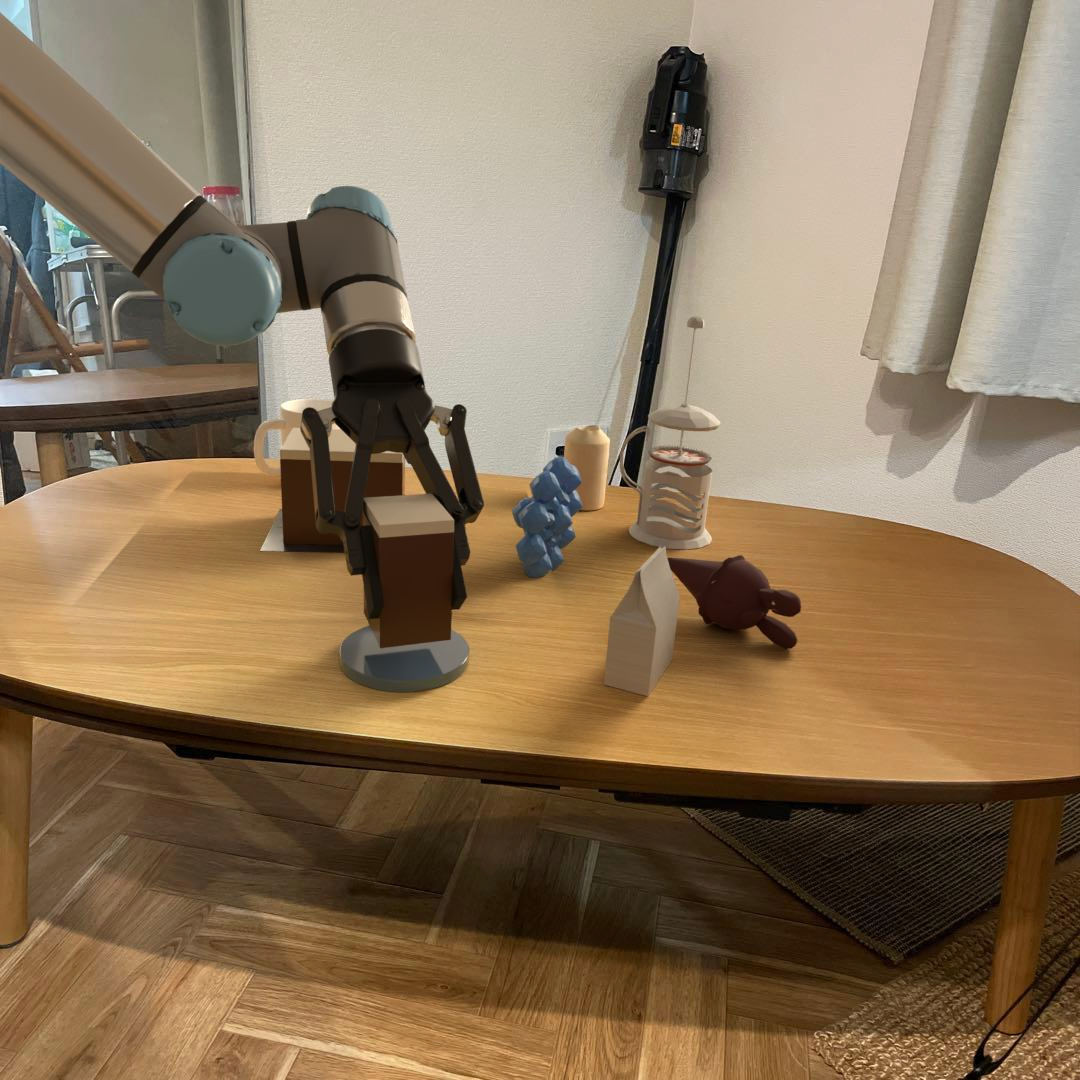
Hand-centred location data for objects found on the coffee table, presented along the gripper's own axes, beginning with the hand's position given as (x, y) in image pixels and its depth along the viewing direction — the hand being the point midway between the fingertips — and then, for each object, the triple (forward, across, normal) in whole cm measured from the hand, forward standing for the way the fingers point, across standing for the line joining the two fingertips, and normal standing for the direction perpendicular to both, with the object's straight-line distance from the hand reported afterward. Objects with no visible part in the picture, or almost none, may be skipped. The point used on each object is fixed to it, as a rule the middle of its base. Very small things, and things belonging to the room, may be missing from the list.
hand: (418, 607), depth 68 cm
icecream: (+3, -30, -7) cm, 31 cm away
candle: (-22, -31, -31) cm, 49 cm away
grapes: (-9, -17, -18) cm, 26 cm away
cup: (-31, +2, -40) cm, 51 cm away
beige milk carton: (+7, -18, -2) cm, 19 cm away
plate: (+2, 0, -7) cm, 7 cm away
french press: (-14, -36, -23) cm, 45 cm away
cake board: (-18, 0, -27) cm, 32 cm away
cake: (-19, 0, -26) cm, 32 cm away
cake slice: (0, 0, -5) cm, 5 cm away
